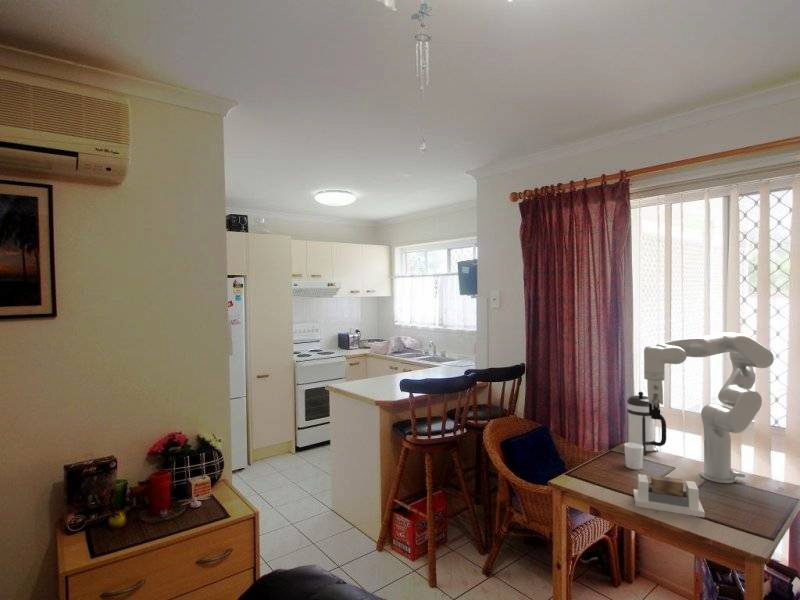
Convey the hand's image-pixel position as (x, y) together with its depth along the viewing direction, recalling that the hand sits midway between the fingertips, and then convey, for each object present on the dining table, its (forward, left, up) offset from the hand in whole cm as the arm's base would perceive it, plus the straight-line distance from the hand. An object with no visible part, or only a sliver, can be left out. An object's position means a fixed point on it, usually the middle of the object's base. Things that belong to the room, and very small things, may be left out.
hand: (654, 415), depth 189 cm
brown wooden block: (-2, +21, -26) cm, 34 cm away
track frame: (-2, +21, -28) cm, 35 cm away
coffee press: (+1, -39, -28) cm, 48 cm away
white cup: (+7, -15, -28) cm, 33 cm away
